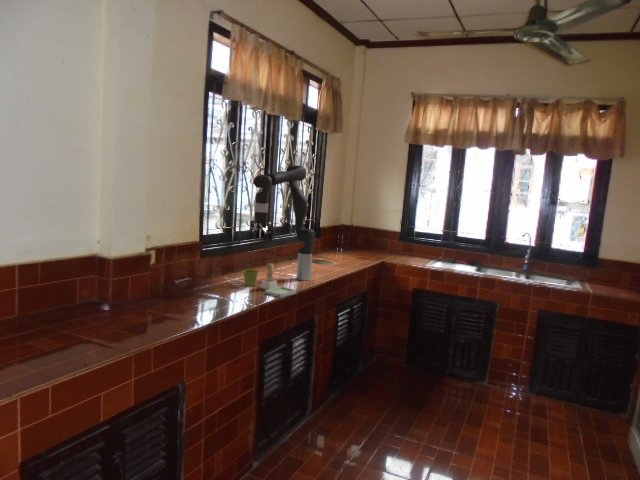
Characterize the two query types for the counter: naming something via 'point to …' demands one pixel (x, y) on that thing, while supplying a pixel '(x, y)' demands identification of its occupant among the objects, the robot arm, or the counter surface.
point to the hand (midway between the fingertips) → (259, 239)
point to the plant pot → (250, 277)
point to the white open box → (269, 284)
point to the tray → (280, 291)
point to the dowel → (269, 272)
